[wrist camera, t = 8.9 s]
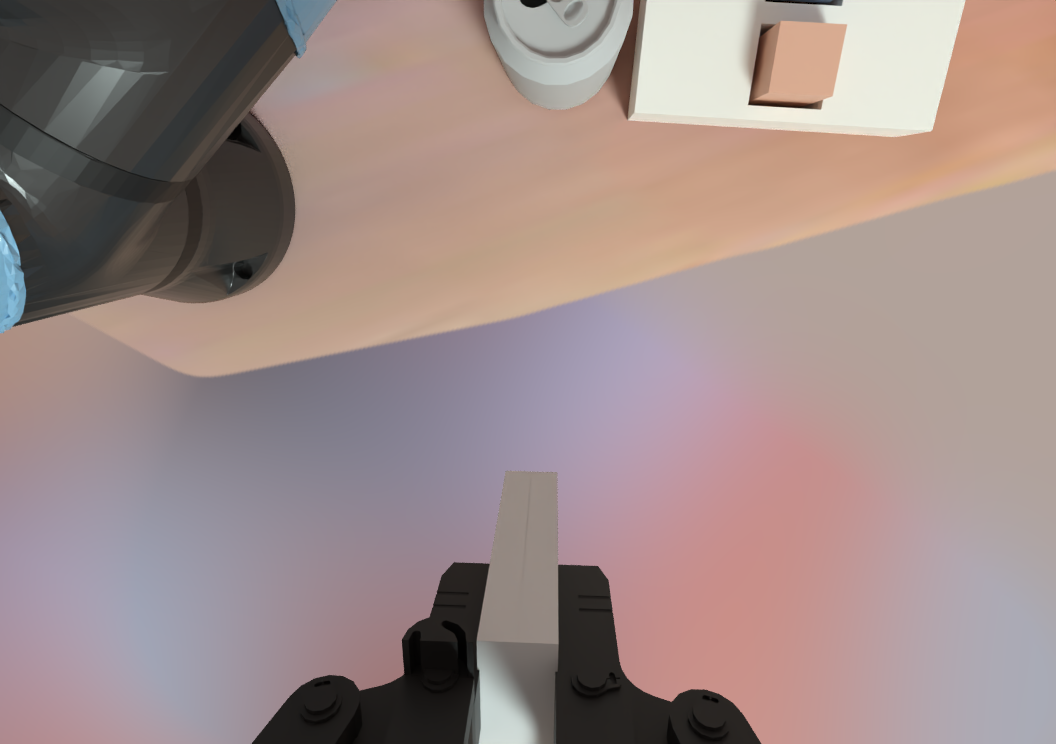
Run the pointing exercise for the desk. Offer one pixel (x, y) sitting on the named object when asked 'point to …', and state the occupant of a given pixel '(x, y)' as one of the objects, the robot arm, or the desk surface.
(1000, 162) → the desk surface
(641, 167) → the desk surface
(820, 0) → the slate button
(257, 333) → the desk surface
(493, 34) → the can
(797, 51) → the terracotta button
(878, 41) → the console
